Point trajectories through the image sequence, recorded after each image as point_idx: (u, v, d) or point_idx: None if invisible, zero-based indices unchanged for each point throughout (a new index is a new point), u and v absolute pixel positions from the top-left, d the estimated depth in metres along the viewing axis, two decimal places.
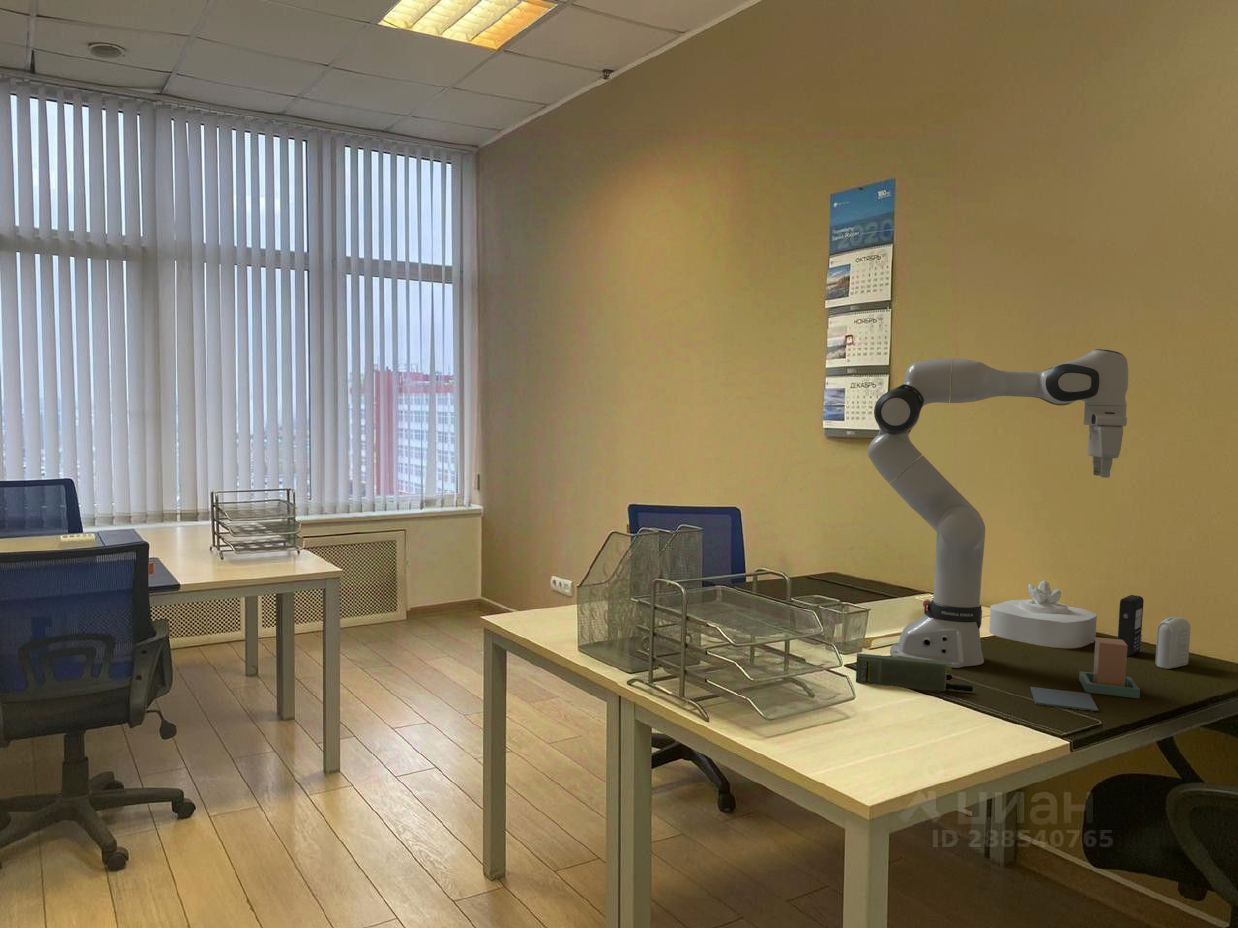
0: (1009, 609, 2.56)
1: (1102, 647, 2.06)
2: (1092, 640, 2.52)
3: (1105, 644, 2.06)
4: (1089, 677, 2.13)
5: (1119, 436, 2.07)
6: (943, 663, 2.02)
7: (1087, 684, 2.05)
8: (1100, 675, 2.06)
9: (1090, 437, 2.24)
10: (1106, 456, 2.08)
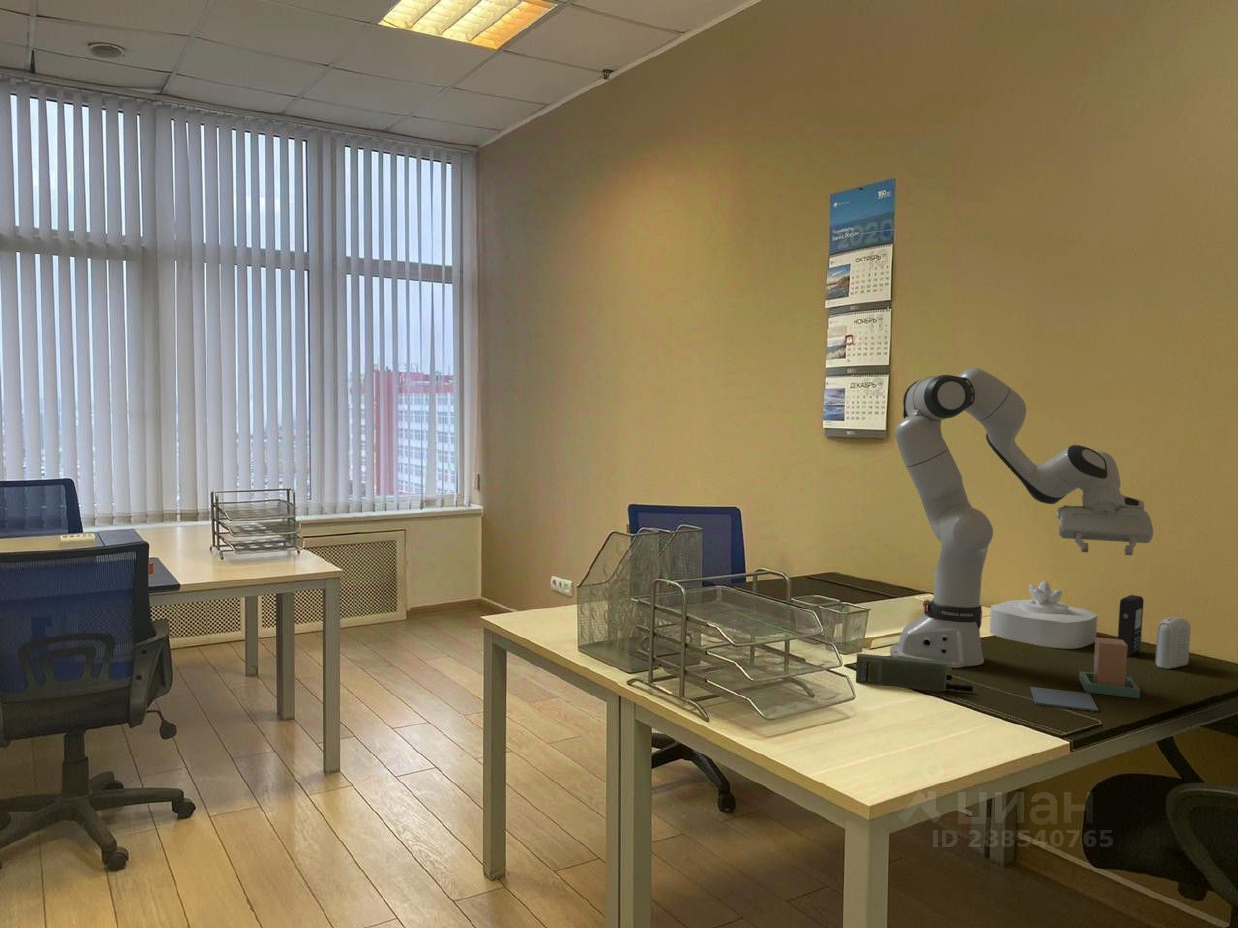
0: (1010, 609, 2.56)
1: (1102, 647, 2.06)
2: (1093, 640, 2.52)
3: (1105, 644, 2.06)
4: (1089, 677, 2.13)
5: None
6: (943, 663, 2.02)
7: (1087, 684, 2.05)
8: (1100, 675, 2.06)
9: (1072, 516, 2.25)
10: (1151, 536, 2.17)
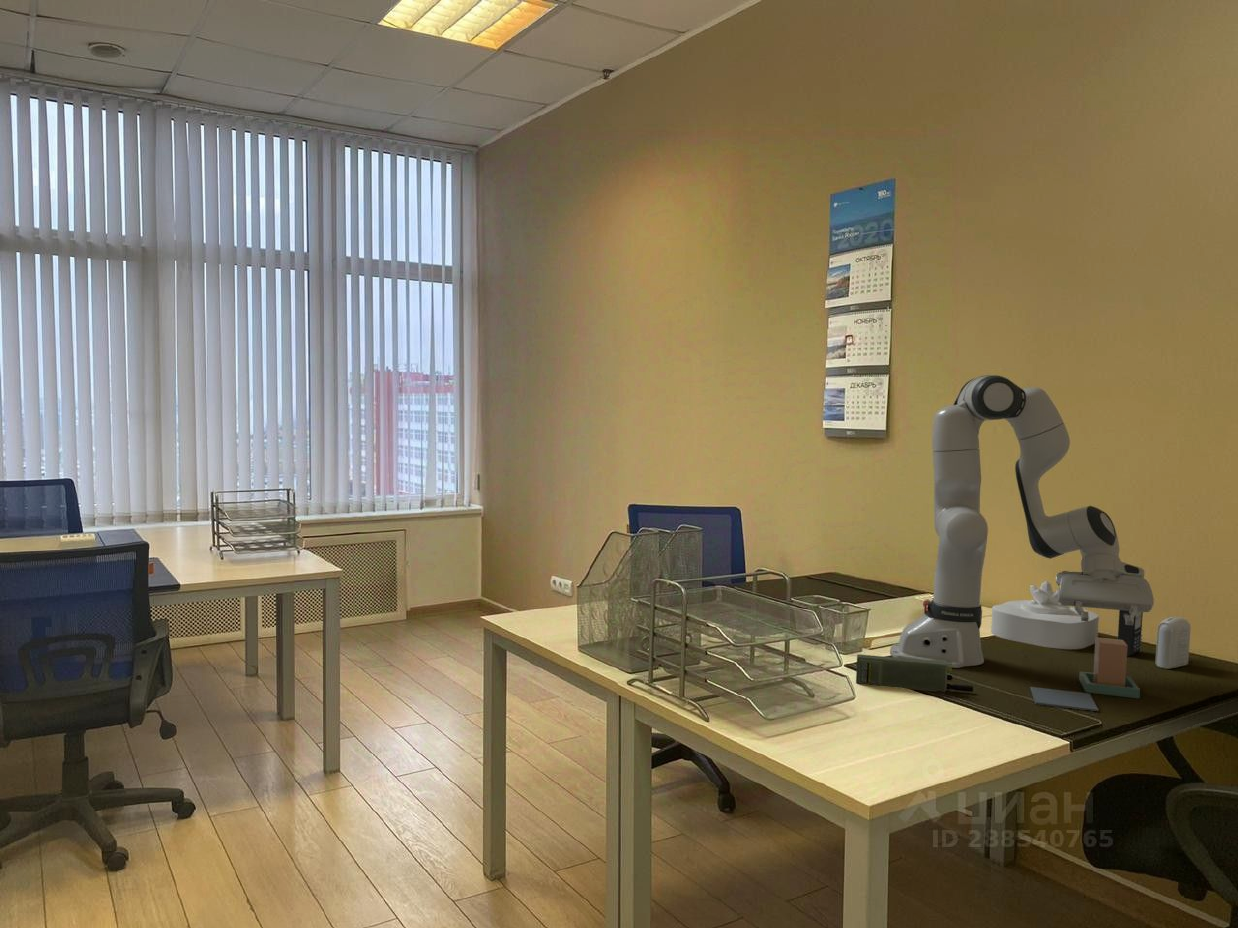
0: (1012, 610, 2.55)
1: (1102, 647, 2.06)
2: (1094, 641, 2.51)
3: (1105, 644, 2.06)
4: (1089, 677, 2.13)
5: None
6: (944, 663, 2.02)
7: (1087, 684, 2.05)
8: (1100, 675, 2.06)
9: (1072, 583, 2.21)
10: (1152, 605, 2.14)
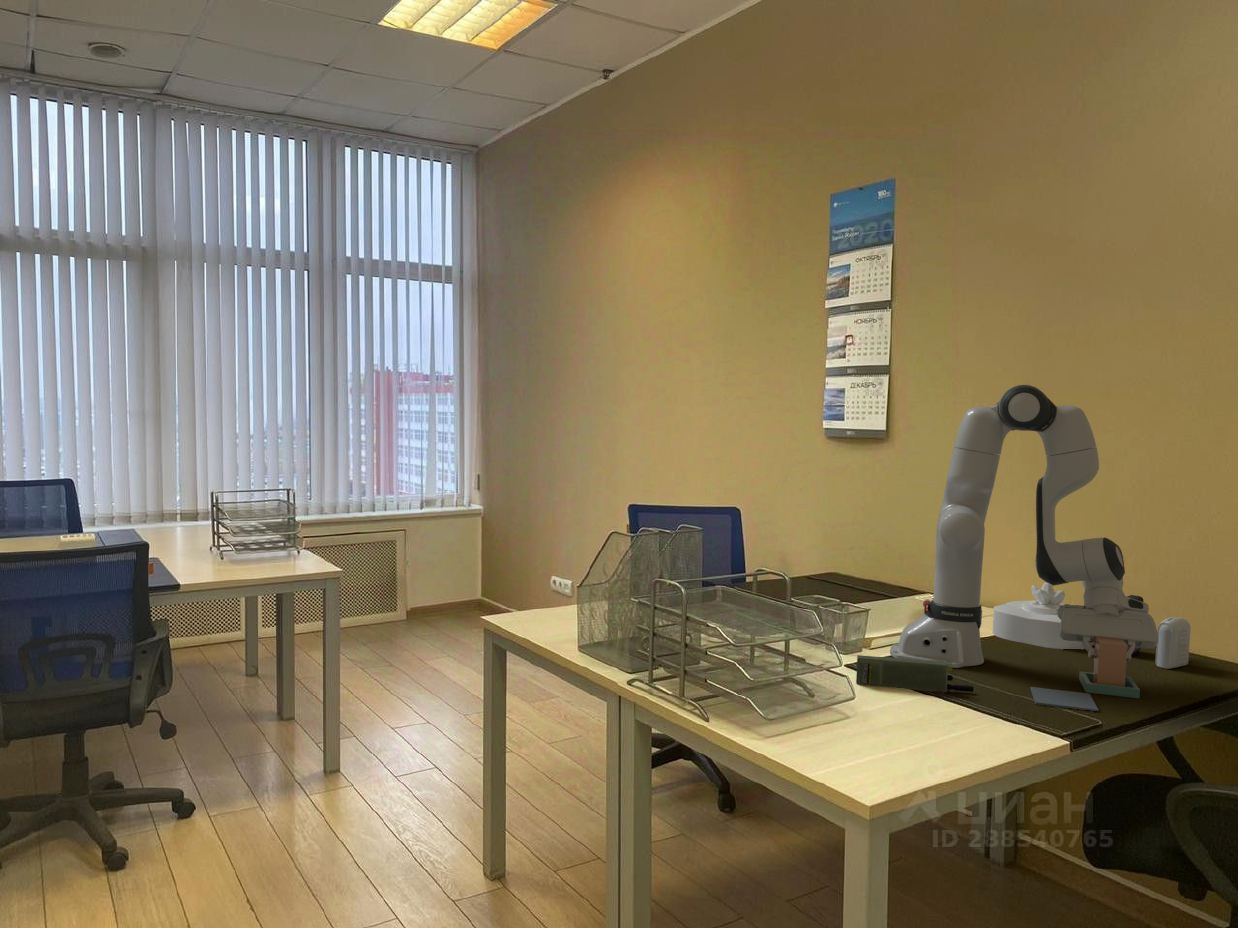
0: (1013, 610, 2.54)
1: (1102, 647, 2.06)
2: None
3: (1105, 644, 2.06)
4: (1089, 677, 2.13)
5: None
6: (944, 664, 2.02)
7: (1087, 684, 2.05)
8: (1100, 675, 2.06)
9: (1074, 617, 2.15)
10: (1156, 642, 2.08)
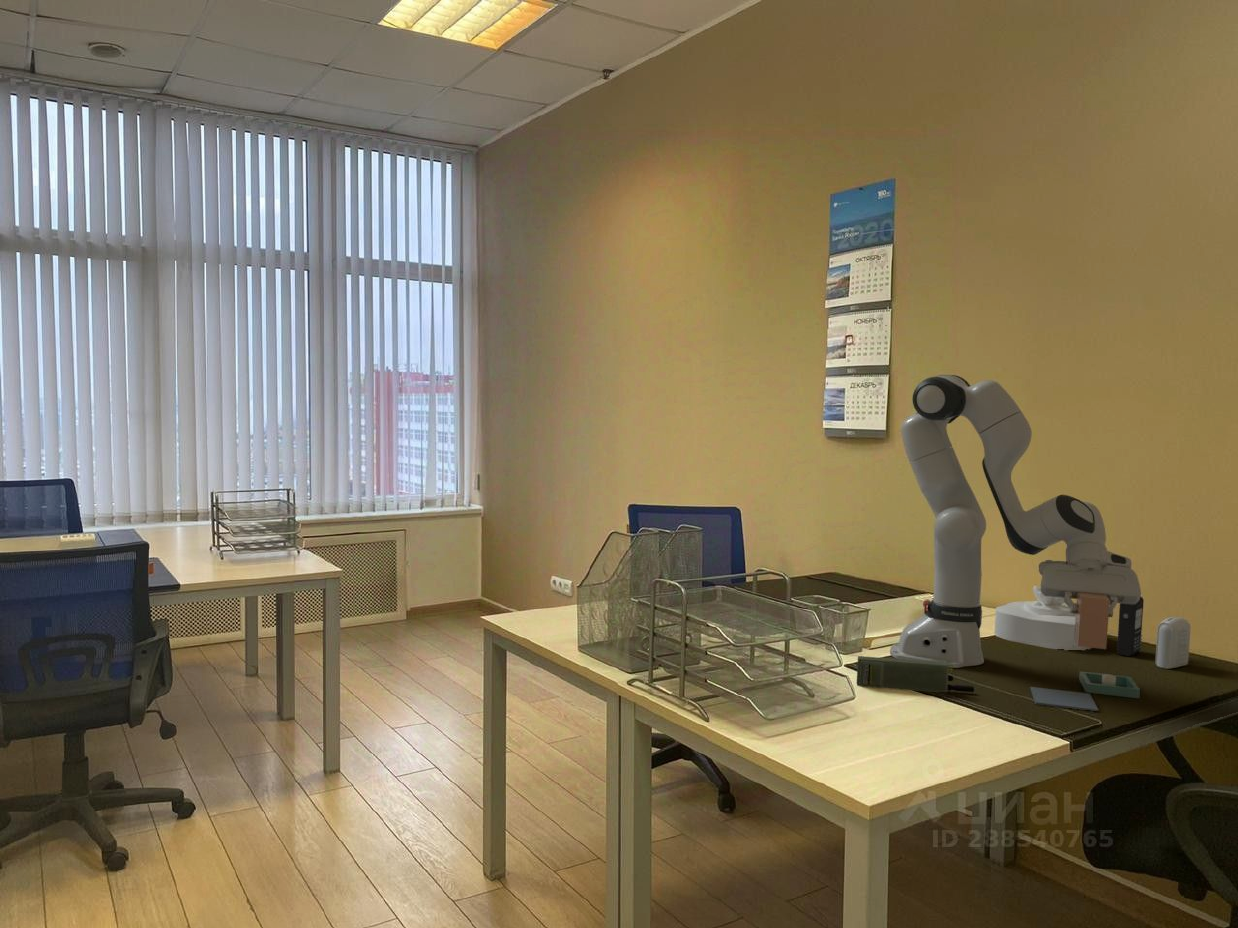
0: (1016, 611, 2.53)
1: (1084, 602, 2.01)
2: None
3: (1087, 598, 2.01)
4: (1089, 677, 2.13)
5: None
6: (945, 664, 2.01)
7: (1087, 684, 2.05)
8: (1081, 630, 2.01)
9: (1055, 572, 2.10)
10: (1139, 597, 2.03)
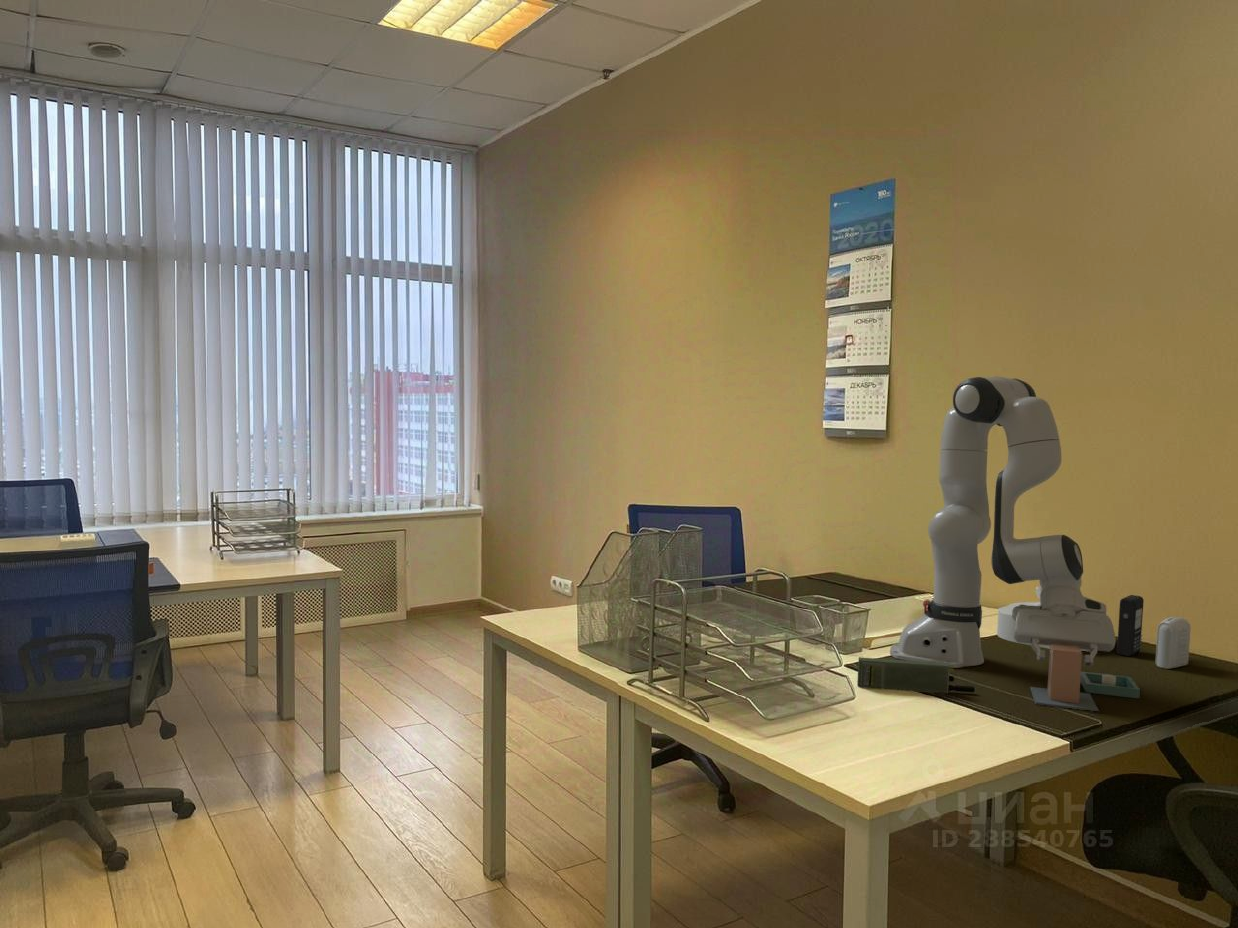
0: None
1: (1055, 655, 1.96)
2: None
3: (1059, 651, 1.96)
4: (1089, 677, 2.13)
5: None
6: (946, 665, 2.01)
7: (1087, 684, 2.05)
8: (1054, 684, 1.97)
9: (1029, 618, 2.05)
10: (1113, 644, 1.98)
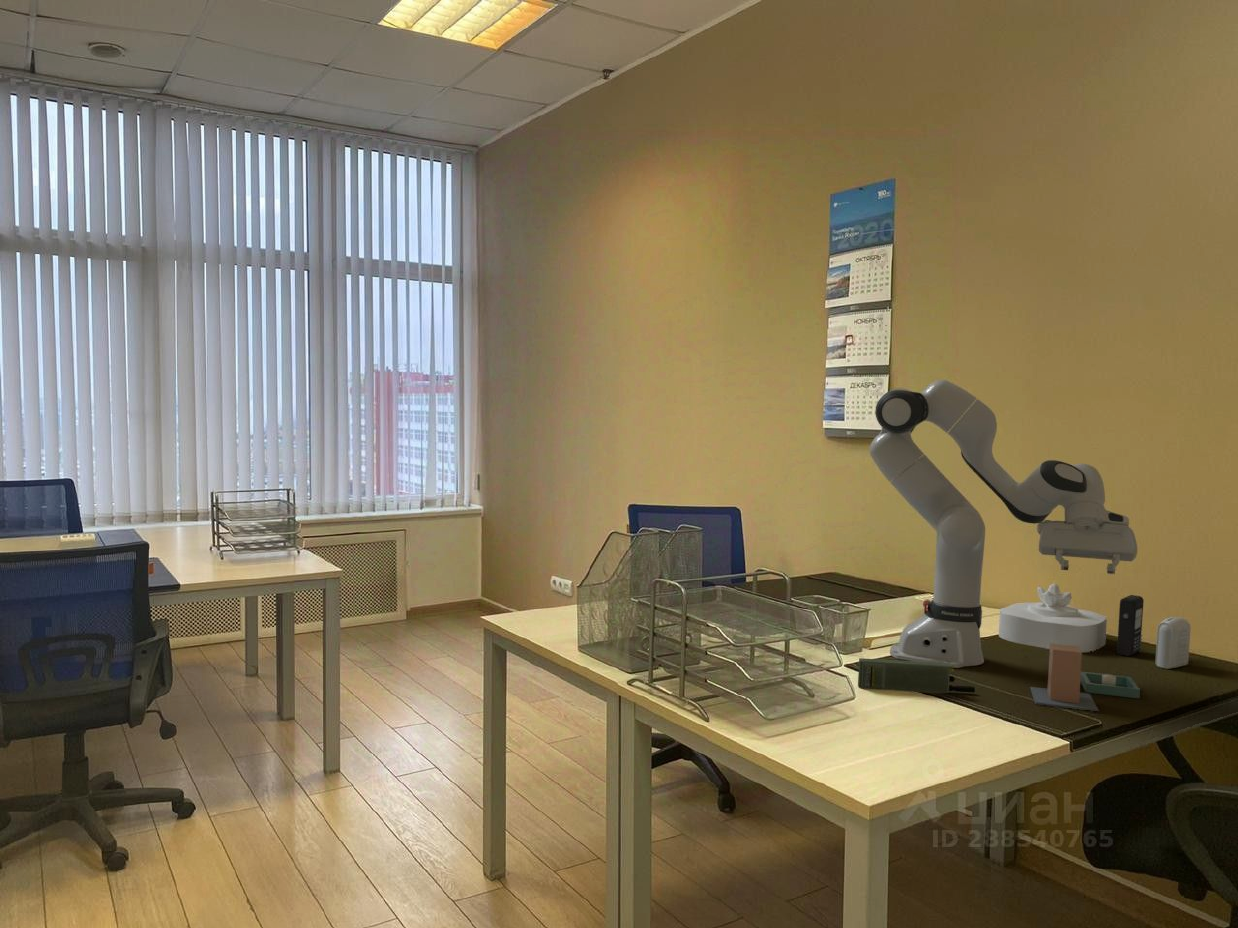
0: (1021, 613, 2.51)
1: (1055, 655, 1.96)
2: (1103, 643, 2.49)
3: (1059, 651, 1.96)
4: (1089, 677, 2.13)
5: None
6: (946, 665, 2.01)
7: (1087, 684, 2.05)
8: (1054, 684, 1.97)
9: (1053, 531, 2.14)
10: (1135, 554, 2.06)
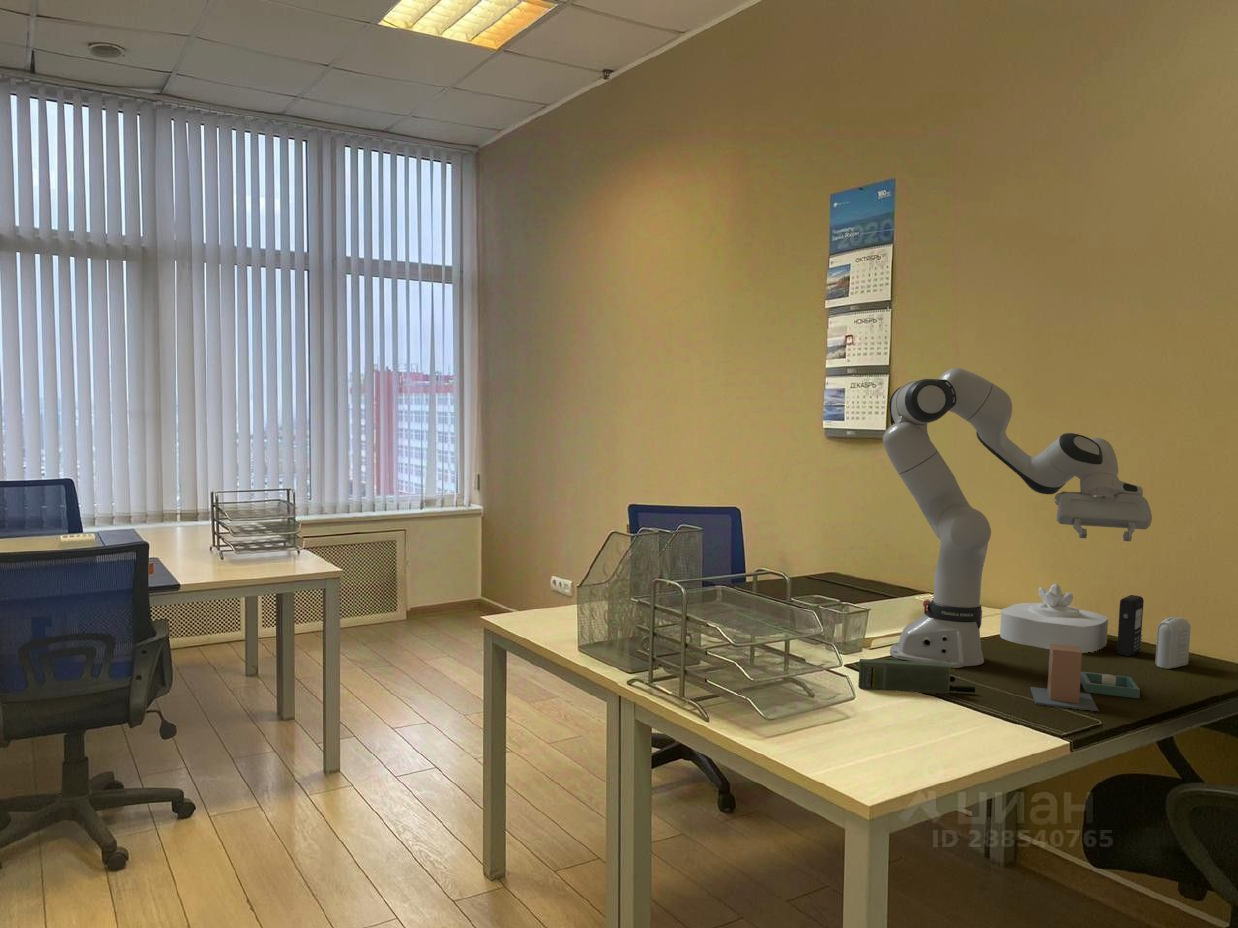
0: (1022, 613, 2.51)
1: (1055, 655, 1.96)
2: (1105, 643, 2.49)
3: (1059, 651, 1.96)
4: (1089, 677, 2.13)
5: None
6: (947, 665, 2.01)
7: (1087, 684, 2.05)
8: (1054, 684, 1.97)
9: (1070, 502, 2.22)
10: (1150, 522, 2.15)
